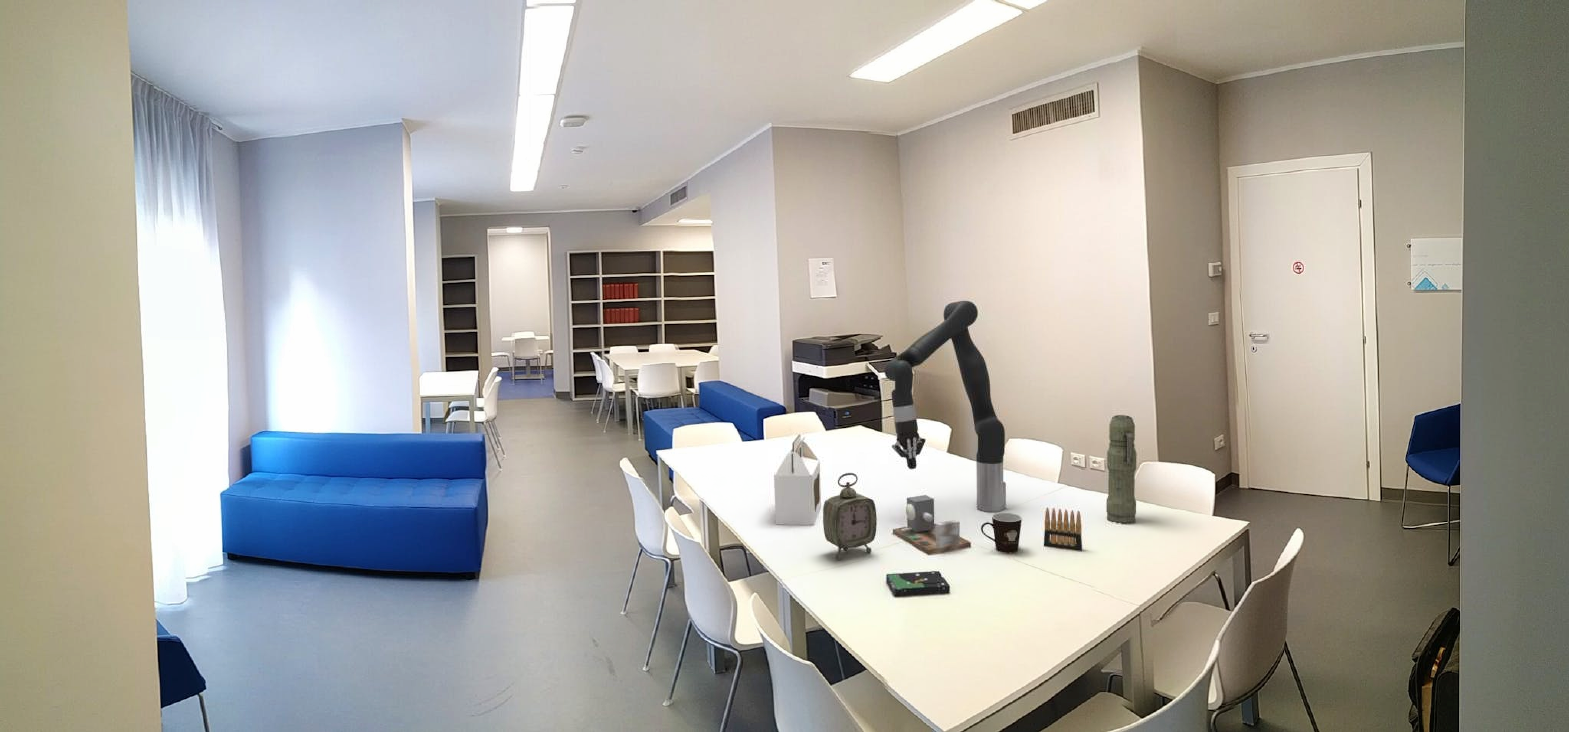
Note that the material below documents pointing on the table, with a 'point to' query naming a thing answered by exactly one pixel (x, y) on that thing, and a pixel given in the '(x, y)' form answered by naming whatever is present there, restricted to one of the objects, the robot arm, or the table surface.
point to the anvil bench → (935, 538)
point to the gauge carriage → (920, 513)
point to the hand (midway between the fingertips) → (912, 468)
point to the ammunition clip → (1063, 531)
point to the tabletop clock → (849, 519)
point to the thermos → (1121, 470)
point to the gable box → (798, 487)
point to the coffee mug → (1005, 531)
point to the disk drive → (917, 583)
